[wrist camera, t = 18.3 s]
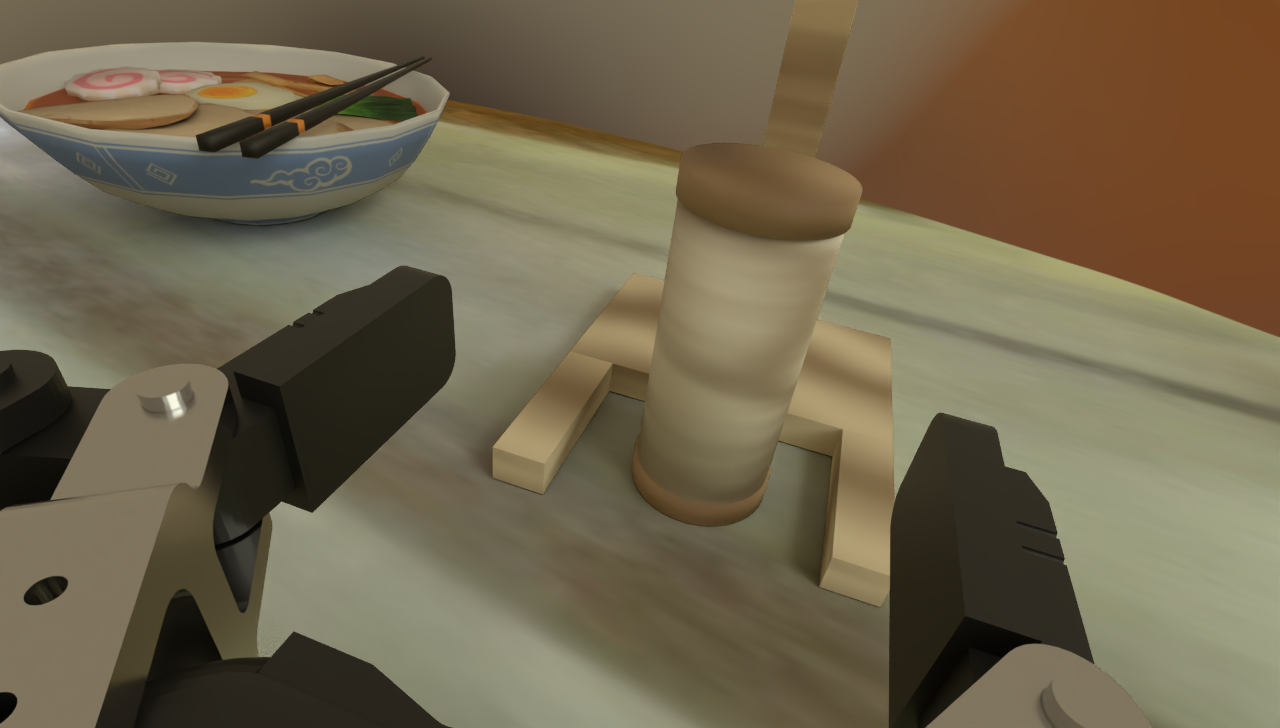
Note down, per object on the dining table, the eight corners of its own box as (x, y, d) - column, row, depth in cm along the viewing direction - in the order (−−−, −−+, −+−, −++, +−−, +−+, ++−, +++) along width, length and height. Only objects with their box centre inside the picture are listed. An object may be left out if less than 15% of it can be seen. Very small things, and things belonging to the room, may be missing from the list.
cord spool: (696, 416, 28) (758, 136, 21) (791, 487, 25) (896, 188, 19) (604, 462, 25) (643, 152, 18) (700, 549, 22) (788, 217, 15)
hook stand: (880, 607, 21) (1425, -406, 9) (492, 477, 24) (488, -441, 11) (880, 362, 34) (1099, -183, 22) (630, 296, 37) (698, -223, 24)
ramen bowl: (213, 129, 51) (185, 13, 47) (497, 171, 51) (497, 60, 47) (-119, 258, 30) (-226, 73, 26) (360, 328, 31) (337, 156, 26)
